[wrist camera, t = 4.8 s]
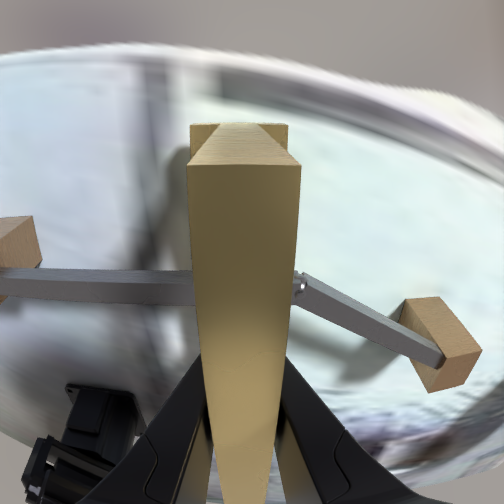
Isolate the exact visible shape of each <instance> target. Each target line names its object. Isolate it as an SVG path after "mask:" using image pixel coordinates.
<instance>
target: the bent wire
mask: <svg viewBox="0 0 504 504" xmlns="http://www.w3.org/2000/svg"><path fill="white" fill-rule="evenodd" d="M41 260H42V257H41V253H40V249H39V245H38V240H37V236H36V232H35V227H34V222H33V217H32V216H20V217H7V218H0V305H1V303H2V302H3V301H4V300H5V299H6V298H7V297H8V296H16V297H27V298H39V299H52V300H66V301H82V302H100V303H120V304H147V305H188V306H196V303H195V292H194V281H193V271H159V270H91V269H48V268H35V267H36V266H37V265H38V263H39V262H40V261H41ZM291 305H297V306H299V307H301V308H303V309H305V310H307V311H309V312H311V313H313V314H316V315H318V316H320V317H322V318H324V319H326V320H328V321H330V322H332V323H335V324H337V325H339V326H341V327H343V328H345V329H347V330H350V331H352V332H354V333H356V334H358V335H360V336H363V337H365V338H367V339H369V340H371V341H373V342H376V343H378V344H380V345H382V346H384V347H387V348H389V349H391V350H393V351H395V352H398V353H400V354H402V355H404V356H407V357H409V359H410V361H411V363H412V365H413V366H414V368H415V370H416V372H417V374H418V375H419V377H420V379H421V381H422V383H423V385H424V387H425V388H426V390H427V392H428V393H432V392H436V391H440V390H444V389H448V388H452V387H456V386H459V385H463V384H464V383H465V381H466V379H467V378H468V376H469V374H470V372H471V371H472V369H473V367H474V365H475V363H476V362H477V360H478V358H479V356H480V354H481V352H482V349H481V347H480V346H479V345H478V343H477V342H476V341H475V340H474V338H473V337H472V336H471V334H470V333H469V332H468V331H467V329H466V328H465V327H464V326H463V324H462V323H461V322H460V321H459V319H458V318H457V317H456V316H455V315H454V313H453V312H452V311H451V310H450V309H449V307H448V306H447V305H446V304H445V303H444V301H443V300H442V299H441V298H440V297H429V298H416V299H406V300H405V303H404V307H403V310H402V313H401V316H400V319H399V322H398V323H397V322H395V321H393V320H391V319H389V318H388V317H386V316H384V315H382V314H380V313H378V312H376V311H375V310H373V309H371V308H369V307H367V306H365V305H364V304H362V303H360V302H358V301H356V300H354V299H352V298H351V297H349V296H347V295H345V294H343V293H341V292H339V291H338V290H336V289H334V288H332V287H330V286H328V285H326V284H325V283H323V282H321V281H319V280H317V279H315V278H313V277H312V276H310V275H308V274H306V273H304V272H303V273H302V274H298V272H297V271H294V276H293V287H292V298H291Z"/></svg>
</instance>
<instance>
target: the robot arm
mask: <svg viewBox="0 0 504 504" xmlns="http://www.w3.org/2000/svg"><path fill="white" fill-rule="evenodd" d="M65 390H66V392H67V394H68V396H69V398H70V400H71V401H72V403H73V407H72V409H71V412H70V414H69V417H68V420H67V422H66V428H65V431H64V433H63V436H62V439H61V442H59V441H57V440H55V439H54V437H52V436H50V435H48V436H47V439H45V438H44V439H43V438H37V440H36V443H35V445H34V448H33V450H32V453H31V455H30V458H29V460H28V463H27V465H26V468H25V470H24V473H23V475H22V478H21V481H22V483H23V485H24V487H25V489H26V490H25V493H26V494H27V497H26V500H25V502H26V503H28V504H206V497H207V490H208V482H209V475H210V468H211V461H212V454H213V447H214V444H213V438H212V431H211V425H210V418H209V411H208V404H207V397H206V390H205V382H204V375H203V367H202V359H201V353H200V355H199V356H198V357H197V359H196V360H195V362H194V363H193V364H192V366H191V367H190V369H189V370H188V371H187V373H186V374H185V376H184V377H183V378H182V380H181V381H180V383H179V384H178V385H177V387H176V388H175V389H174V391H173V392H172V394H171V395H170V396H169V398H168V399H167V401H166V402H165V403H164V405H163V406H162V407H161V409H160V410H159V412H158V413H157V414H156V416H155V417H154V419H153V420H152V421H151V423H150V424H149V425H148V427H146V425H145V422H144V420H143V417H142V415H141V412H140V410H139V407H138V404H137V402H136V399H135V396H134V395H133V394H132V393H129V392H123V391H114V390H106V389H99V388H92V387H85V386H79V385H73V384H67V385H66V387H65ZM135 436H140V438H139V439H138V440H137V442H136V443H135V444H134V446H133V442H134V437H135ZM274 447H275V452H276V456H277V461H278V466H279V471H280V475H281V480H282V485H283V489H284V494H285V499H286V503H287V504H451V503H447V502H442V501H438V500H434V499H430V498H427V497H424V496H422V495H419V494H417V493H415V492H414V491H412V490H411V489H409V488H408V487H407V486H406V485H404V484H403V483H402V482H401V481H400V480H398V479H397V478H396V477H395V476H394V475H392V474H391V473H390V472H389V471H388V470H387V469H385V468H384V467H383V466H382V465H381V464H380V463H379V462H377V461H376V460H375V459H374V458H373V457H372V456H371V455H370V454H369V453H368V452H367V451H366V450H365V449H364V448H363V447H362V446H361V445H360V444H359V443H358V442H357V441H356V440H355V439H354V437H353V436H352V435H351V434H350V433H349V432H348V430H345V427H344V426H343V425H342V423H341V422H340V421H339V420H338V419H337V418H336V416H335V415H334V414H333V413H332V412H331V410H330V409H329V408H328V407H327V406H326V404H325V403H324V402H323V401H322V400H321V398H320V397H319V396H318V395H317V394H316V392H315V391H314V390H313V389H312V388H311V386H310V385H309V384H308V383H307V381H306V380H305V379H304V378H303V377H302V375H301V374H300V373H299V372H298V370H297V369H296V368H295V367H294V365H293V364H292V363H291V362H290V360H289V359H288V358H287V357H286V355H285V364H284V372H283V380H282V388H281V396H280V404H279V412H278V419H277V426H276V433H275V440H274ZM46 460H47V461H49V462H51V463H53V464H54V466H52V465H50V464H48V463H46Z"/></svg>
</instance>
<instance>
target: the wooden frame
mask: <svg viewBox="0 0 504 504" xmlns="http://www.w3.org/2000/svg"><path fill="white" fill-rule="evenodd" d="M287 143H288V125H286V124H284V123H194V124H191V125H190V156H191V160H190V162H189V163H188V164H187V165H186V166H187V190H188V210H189V227H190V242H191V256H192V269H193V281H194V292H195V303H196V313H197V323H198V332H199V342H200V350H201V359H202V367H203V375H204V382H205V390H206V397H207V404H208V411H209V418H210V425H211V431H212V438H213V444H214V450H215V456H216V462H217V467H218V473H219V478H220V484H221V489H222V494H223V500H224V504H265V498H266V492H267V486H268V479H269V473H270V467H271V460H272V454H273V447H274V440H275V433H276V426H277V419H278V412H279V404H280V396H281V388H282V380H283V372H284V364H285V355H286V346H287V337H288V328H289V318H290V308H291V298H292V287H293V276H294V265H295V253H296V241H297V228H298V214H299V199H300V183H301V165H300V164H299V163H298V162H297V161H296V160H295V159H294V158H293V157H292V156H291V155H290V154H289V153H288V152H287Z"/></svg>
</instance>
